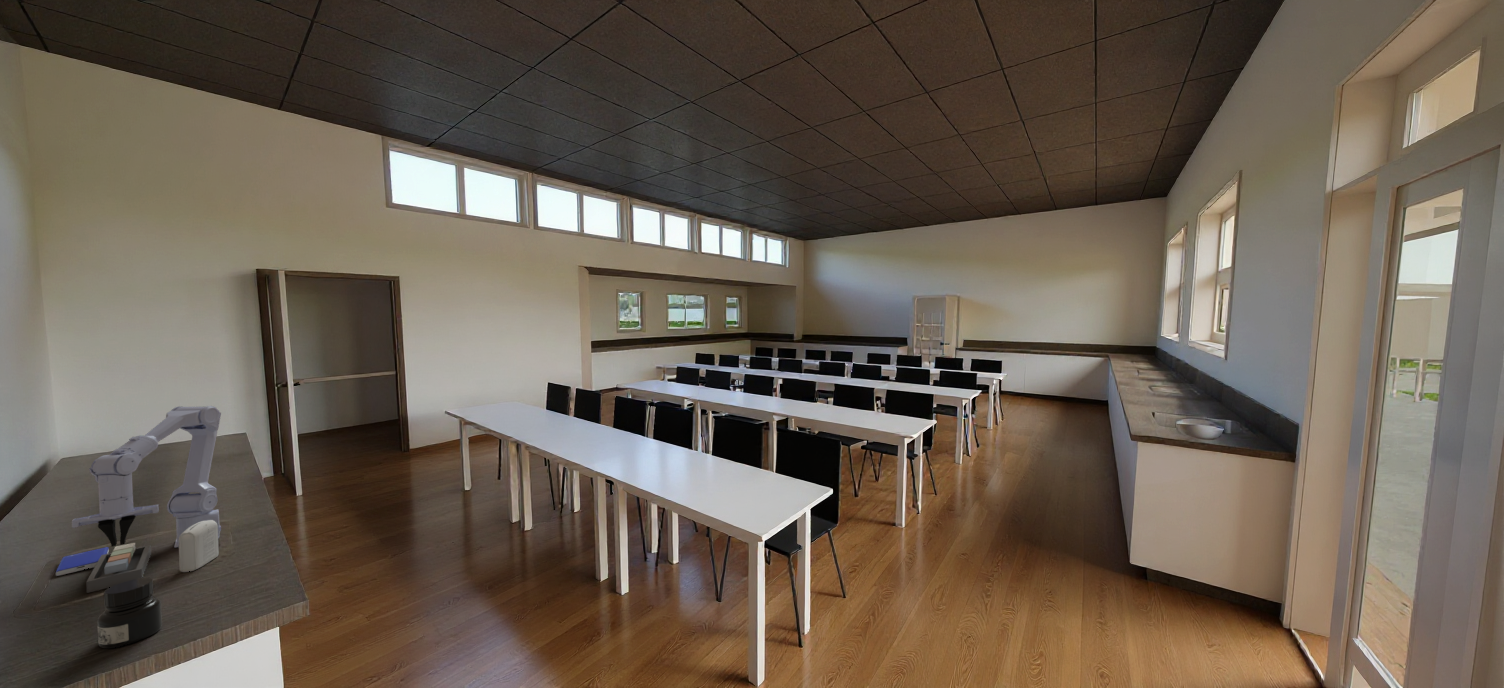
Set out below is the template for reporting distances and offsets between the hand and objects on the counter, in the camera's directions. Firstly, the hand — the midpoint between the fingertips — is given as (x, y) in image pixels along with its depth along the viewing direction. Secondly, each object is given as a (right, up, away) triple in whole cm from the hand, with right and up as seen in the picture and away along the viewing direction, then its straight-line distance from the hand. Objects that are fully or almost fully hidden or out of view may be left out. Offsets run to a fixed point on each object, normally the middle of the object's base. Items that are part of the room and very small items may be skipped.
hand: (118, 544), depth 134 cm
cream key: (-7, -6, +7) cm, 11 cm away
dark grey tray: (-2, -9, +2) cm, 9 cm away
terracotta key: (0, -6, 0) cm, 6 cm away
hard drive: (-18, -8, +6) cm, 21 cm away
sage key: (-3, -6, +3) cm, 8 cm away
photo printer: (+15, -9, +7) cm, 19 cm away
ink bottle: (+37, -11, -25) cm, 46 cm away
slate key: (+3, -7, -3) cm, 8 cm away
